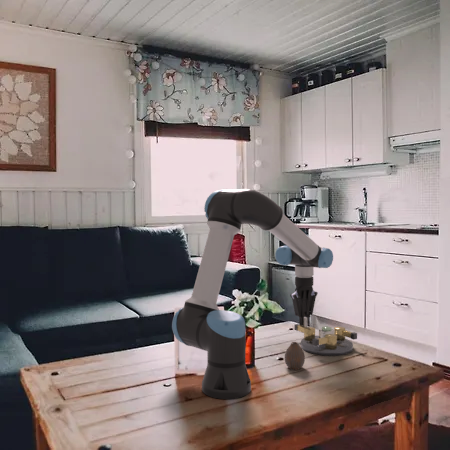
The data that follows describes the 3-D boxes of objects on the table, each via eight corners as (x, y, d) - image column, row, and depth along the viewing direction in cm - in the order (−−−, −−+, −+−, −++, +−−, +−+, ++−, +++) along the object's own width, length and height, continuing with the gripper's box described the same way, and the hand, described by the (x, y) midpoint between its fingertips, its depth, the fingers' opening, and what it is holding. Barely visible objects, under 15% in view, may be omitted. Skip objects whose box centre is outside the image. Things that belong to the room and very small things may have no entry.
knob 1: (317, 339, 189) (317, 328, 189) (309, 341, 187) (309, 330, 187) (300, 333, 198) (300, 323, 198) (292, 335, 196) (292, 324, 196)
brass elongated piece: (331, 338, 191) (331, 327, 190) (339, 337, 193) (339, 326, 193) (351, 345, 182) (351, 333, 181) (359, 343, 184) (359, 332, 184)
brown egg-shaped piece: (283, 370, 162) (283, 344, 162) (286, 363, 169) (286, 339, 168) (303, 372, 160) (303, 346, 160) (305, 365, 167) (306, 340, 166)
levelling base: (363, 350, 183) (364, 329, 183) (325, 359, 173) (325, 337, 172) (327, 337, 200) (328, 318, 200) (290, 345, 190) (290, 325, 190)
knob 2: (331, 344, 182) (331, 333, 182) (339, 347, 179) (339, 336, 178) (309, 349, 177) (310, 337, 177) (317, 352, 173) (318, 340, 173)
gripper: (310, 273, 202) (309, 328, 203) (286, 276, 195) (285, 332, 197) (322, 276, 196) (321, 332, 197) (297, 278, 189) (297, 336, 190)
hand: (303, 332), depth 197 cm, fingers closed
